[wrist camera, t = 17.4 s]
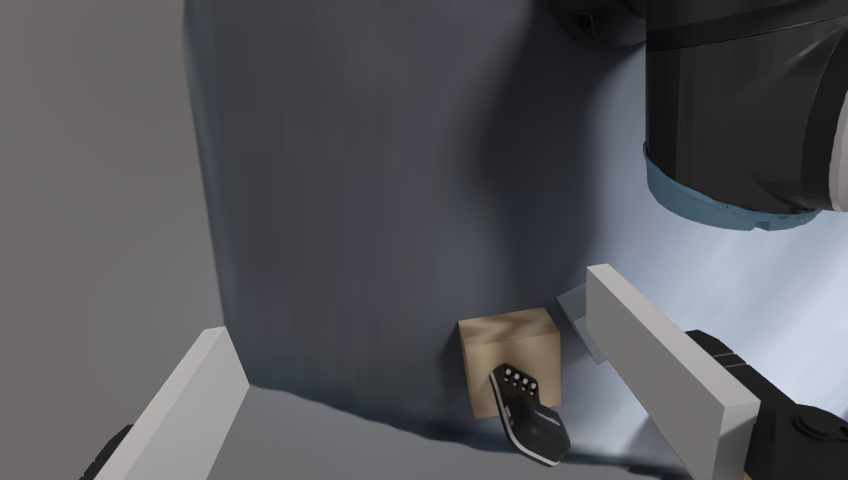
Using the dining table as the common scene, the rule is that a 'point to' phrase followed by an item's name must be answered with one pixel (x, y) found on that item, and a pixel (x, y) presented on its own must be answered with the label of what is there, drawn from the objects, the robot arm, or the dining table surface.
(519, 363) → the oak block
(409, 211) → the dining table surface
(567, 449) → the battery charger
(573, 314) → the slate-blue block
